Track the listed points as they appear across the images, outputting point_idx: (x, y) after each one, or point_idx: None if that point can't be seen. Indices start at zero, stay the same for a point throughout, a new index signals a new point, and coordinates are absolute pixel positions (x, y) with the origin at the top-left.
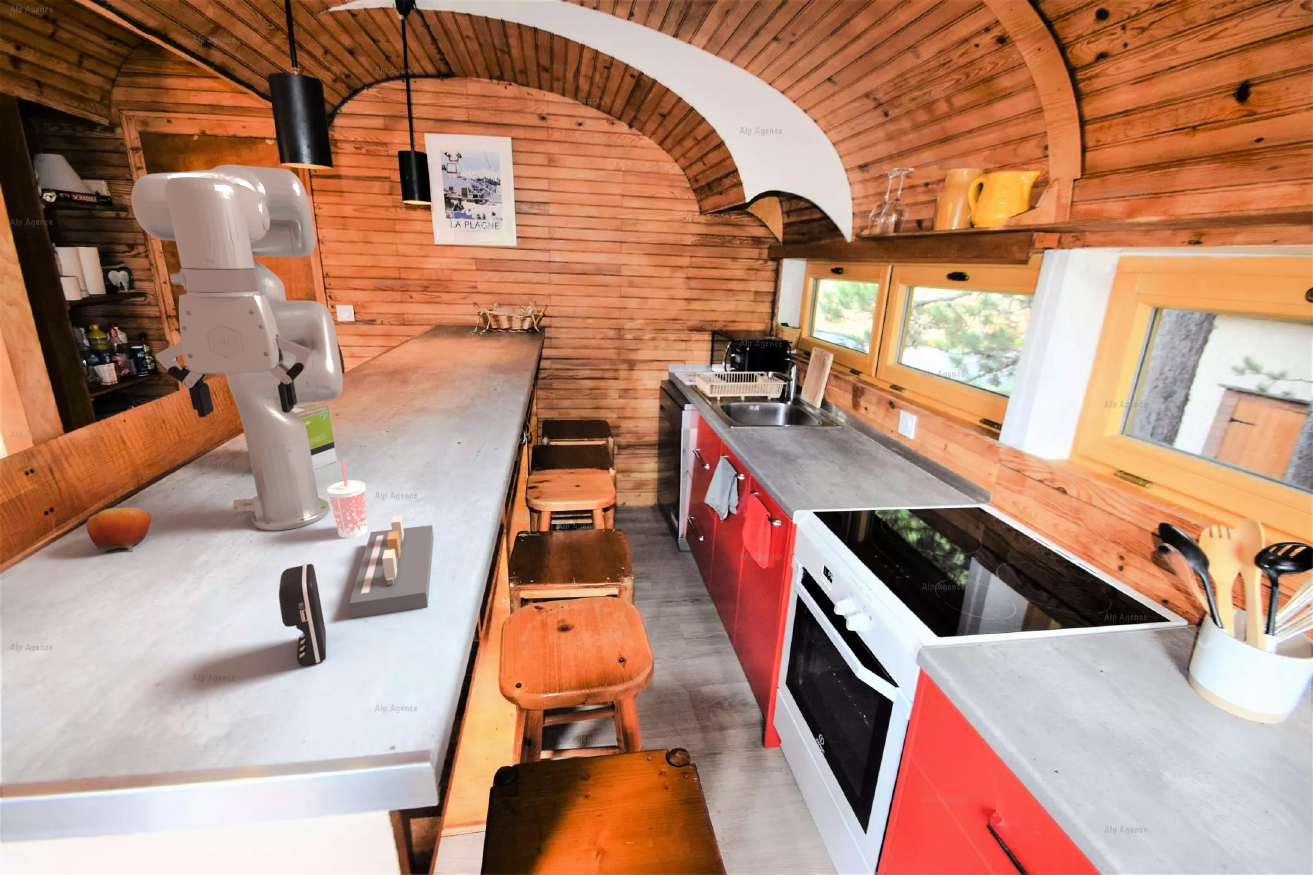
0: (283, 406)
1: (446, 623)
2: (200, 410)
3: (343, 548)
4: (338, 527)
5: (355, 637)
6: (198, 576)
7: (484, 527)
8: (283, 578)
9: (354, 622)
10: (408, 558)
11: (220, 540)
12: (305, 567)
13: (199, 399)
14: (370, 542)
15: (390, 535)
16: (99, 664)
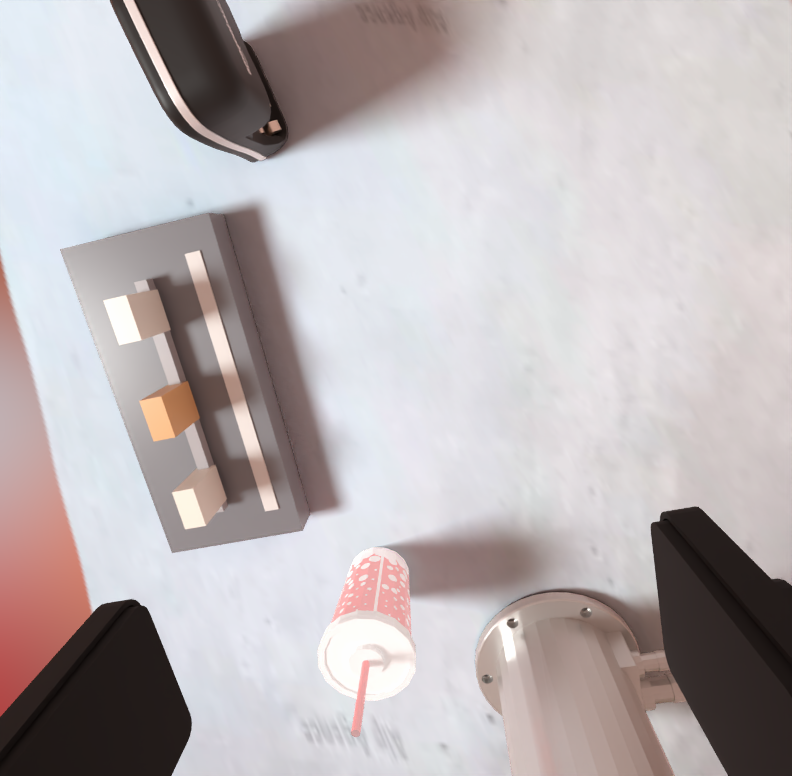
0: (100, 628)
1: (21, 185)
2: (696, 535)
3: (369, 502)
4: (397, 567)
5: (185, 144)
6: (635, 404)
7: (91, 572)
8: (196, 18)
9: (212, 200)
10: None
11: None
12: (160, 72)
13: (742, 604)
14: (281, 480)
15: (162, 418)
16: (660, 76)
